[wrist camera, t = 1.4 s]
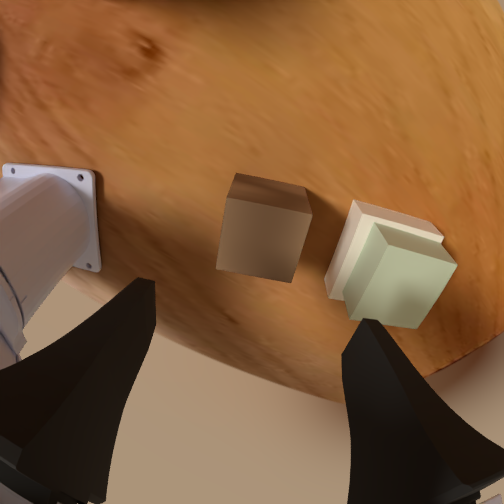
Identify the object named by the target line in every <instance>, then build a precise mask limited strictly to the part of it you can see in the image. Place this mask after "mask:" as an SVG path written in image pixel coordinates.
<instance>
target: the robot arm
mask: <svg viewBox="0 0 504 504" xmlns="http://www.w3.org/2000/svg"><path fill="white" fill-rule="evenodd" d="M14 169H15V170H14ZM2 170H3V177H2V178H1V179H0V504H77V503H78V504H87V503H88V501H89V502H91V503H94V504H100V503H103V502H105V501H106V493H107V485H108V476H109V471H110V465H111V459H112V454H113V449H114V445H115V440H116V436H117V431H118V428H119V424H120V420H121V417H122V413H123V409H124V407H125V403H126V401H127V398H128V396H129V393H130V391H131V389H132V386H133V384H134V381H135V379H136V377H137V374H138V372H139V370H140V367H141V365H142V363H143V361H144V358H145V356H146V354H147V351H148V349H149V346H150V343H151V339H152V336H153V333H154V329H155V326H156V306H155V281H152V280H148V279H143V278H139V277H138V278H136V279H135V280H134V281H133V282H131V283H130V284H129V285H128V286H127V287H125V288H124V289H123V290H122V291H121V292H120V293H118V294H117V295H116V296H115V297H114V298H112V299H111V300H110V301H109V302H108V303H106V304H105V305H104V306H103V307H101V308H100V309H99V310H98V311H97V312H95V313H94V314H93V315H92V316H90V317H89V318H88V319H86V320H85V321H84V322H82V323H81V324H80V325H78V326H77V327H76V328H74V329H73V330H72V331H70V332H69V333H67V334H66V335H65V336H63V337H61V338H60V339H58V340H57V341H55V342H54V343H52V344H51V345H49V346H47V347H46V348H44V349H42V350H40V351H38V352H37V353H35V354H33V355H31V356H29V357H27V358H25V359H23V360H22V359H21V357H20V355H19V353H20V351H21V350H22V348H23V347H24V345H25V344H26V342H27V341H26V339H25V337H24V335H23V332H22V330H23V328H24V327H25V325H26V324H27V323H28V321H29V320H30V319H31V317H32V316H33V315H34V313H35V312H36V311H37V309H38V308H39V307H40V305H41V304H42V303H43V301H44V300H45V299H46V297H47V296H48V295H49V294H50V292H51V291H52V290H53V289H54V287H55V286H56V285H57V284H58V282H59V281H60V280H61V279H62V278H63V276H64V275H65V274H66V273H67V272H68V270H69V269H70V268H71V267H72V266H73V267H77V268H81V269H85V270H89V271H92V272H99V271H100V269H101V267H102V265H101V257H100V248H99V237H98V225H97V211H96V188H95V174H94V172H93V171H91V170H89V169H79V168H69V167H59V166H47V165H34V164H20V163H6V164H4V165H3V168H2ZM81 174H82V175H83V178H84V179H82V178H81V176H80V175H81ZM89 264H90V265H89ZM341 355H342V381H343V388H344V394H345V401H346V407H347V413H348V420H349V427H350V437H351V469H350V485H349V493H348V501H347V504H476V500H477V499H480V497H481V495H480V490H482V489H484V488H486V487H487V486H489V485H491V484H493V483H495V482H496V481H498V480H500V479H501V478H503V477H504V449H503V448H502V447H500V446H499V445H497V444H495V443H494V442H492V441H490V440H489V439H487V438H486V437H484V436H483V435H482V434H480V433H479V432H478V431H476V430H475V429H474V428H472V427H471V426H470V425H469V424H468V423H466V422H465V421H464V420H463V419H462V418H461V417H460V416H458V415H457V414H456V413H455V412H454V411H453V410H452V409H451V408H450V407H449V406H448V405H447V404H446V403H445V402H444V401H443V400H442V399H441V398H440V397H439V396H438V395H437V394H436V393H435V391H434V390H433V389H432V388H431V387H430V386H429V384H428V383H427V382H426V381H425V380H424V378H423V377H422V376H421V375H420V373H419V372H418V371H417V370H416V368H415V367H414V366H413V365H412V363H411V362H410V361H409V359H408V358H407V357H406V355H405V354H404V353H403V351H402V350H401V349H400V347H399V346H398V345H397V343H396V342H395V341H394V339H393V338H392V337H391V336H390V334H389V333H388V332H387V330H386V329H385V328H384V327H383V325H382V324H381V323H380V322H379V321H378V320H376V319H368V318H363V319H362V321H361V322H360V324H359V326H358V328H357V329H356V331H355V333H354V334H353V336H352V338H351V340H350V341H349V343H348V345H347V346H346V348H345V350H344V351H343V353H342V354H341ZM480 504H502V498H501V494H497V495H496V496H494V497H492V498H490V499H488V500H486V501H484V502H482V503H480Z"/></svg>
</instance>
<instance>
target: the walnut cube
mask: <svg viewBox="0 0 504 504" xmlns="http://www.w3.org/2000/svg"><path fill="white" fill-rule="evenodd" d="M312 216H313V214H312V210H311V207H310V204H309V200H308V197H307V194H306V190H305V187H302V186H297V185H293V184H288V183H284V182H279V181H274V180H270V179H265V178H260V177H255V176H250V175H244V174H239V173H236V175H235V177H234V180H233V182H232V185H231V187H230V190H229V193H228V195H227V198H226V205H225V211H224V217H223V223H222V230H221V236H220V243H219V249H218V256H217V263H216V269H218V270H223V271H228V272H234V273H239V274H244V275H249V276H255V277H260V278H265V279H271V280H276V281H282V282H287V283H291V282H292V279H293V276H294V273H295V270H296V267H297V264H298V261H299V258H300V254H301V251H302V248H303V245H304V242H305V239H306V236H307V232H308V229H309V226H310V223H311V219H312Z"/></svg>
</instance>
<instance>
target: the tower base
mask: <svg viewBox="0 0 504 504" xmlns="http://www.w3.org/2000/svg"><path fill="white" fill-rule="evenodd" d="M374 222H376V223H379V224H383V225H386V226H389V227H393V228H396V229H399V230H402V231H405V232H409V233H412V234H415V235H418V236H421V237H424V238H427V239H430V240H433V241H436V242H439V243H440V244H441V243H442V241H443V238H444V236H443V235H442V234H441V233H440V232H439V231H438V229H437V228H436V227H435V226H434V225H433V224H432V223H431V222H429V221H426V220H423V219H419V218H416V217H413V216H410V215H406V214H403V213H400V212H396V211H393V210H390V209H386V208H383V207H379V206H376V205H372V204H368V203H365V202H361V201H357V200H354V199H353V202H352V205H351V208H350V211H349V214H348V217H347V219H346V222H345V225H344V228H343V231H342V233H341V236H340V239H339V241H338V244H337V247H336V249H335V252H334V255H333V257H332V260H331V262H330V265H329V268H328V270H327V273H326V275H325V278H324V281H325V286H326V290H327V295H328V298H329V299H335V300H342V301H345V300H344V297H343V293H342V291H343V289H344V287H345V285H346V283H347V281H348V279H349V277H350V274H351V272H352V270H353V268H354V266H355V264H356V262H357V259H358V257H359V255H360V253H361V251H362V248H363V246H364V244H365V242H366V239H367V237H368V235H369V232H370V230H371V228H372V225H373V223H374Z"/></svg>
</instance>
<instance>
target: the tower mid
mask: <svg viewBox="0 0 504 504" xmlns="http://www.w3.org/2000/svg"><path fill="white" fill-rule="evenodd" d="M456 267H457V263H456V262H455V261H454V260H453V258H452V257H451V256H450V255H449V253H448V252H447V251H446V250H445V249H444V247H443V246H442V245H441V244H440V243H439V242H436V241H433V240H430V239H427V238H424V237H421V236H418V235H415V234H412V233H409V232H405V231H402V230H399V229H396V228H393V227H389V226H386V225H383V224H379V223H376V222H374V223H373V225H372V228H371V230H370V232H369V235H368V237H367V239H366V242H365V244H364V246H363V248H362V251H361V253H360V255H359V257H358V259H357V262H356V264H355V266H354V268H353V270H352V272H351V274H350V277H349V279H348V281H347V283H346V285H345V287H344V289H343V291H342V293H343V297H344V300H345V304H346V308H347V312H348V316H349V319H351V320H357V321H362V319H363V318H368V319H376V320H378V321H379V322H380V323H381V324H383V325H390V326H397V327H404V328H411V329H417V328H418V327H419V325H420V324H421V322H422V321H423V320H424V318H425V317H426V315H427V314H428V312H429V311H430V309H431V308H432V306H433V305H434V303H435V302H436V300H437V299H438V297H439V295H440V294H441V292H442V291H443V289H444V287H445V286H446V284H447V283H448V281H449V279H450V278H451V276H452V274H453V272H454V271H455V269H456Z"/></svg>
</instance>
